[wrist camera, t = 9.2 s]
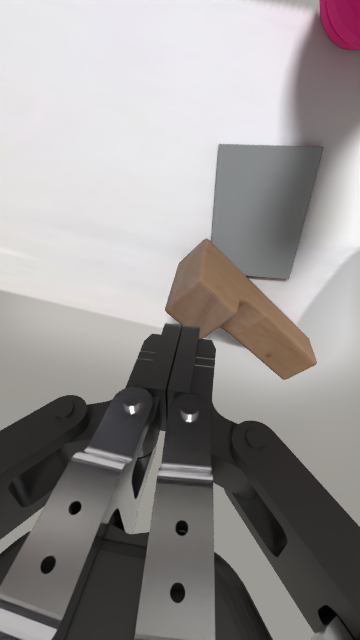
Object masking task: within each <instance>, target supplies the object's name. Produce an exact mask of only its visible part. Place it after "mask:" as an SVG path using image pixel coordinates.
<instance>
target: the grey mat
mask: <svg viewBox="0 0 360 640" xmlns="http://www.w3.org/2000/svg"><path fill="white" fill-rule="evenodd" d="M322 151H323V147H306V146H270V145H233V144H219V149H218V162H217V174H216V187H215V200H214V213H213V226H212V239H211V242H212V243H213V244H214V245H215V246H216V247H217V248H218V249H219V250H220V251H221V252H222V253H223V254H224V255H225V256H226V257H227V258H228V259H229V260H230V261H231V262H232V263H233V264H234V265H235V266H236V267H237V268H238V269H239V270H240V271H241V272H242V273H243V274H244V275H245V276H257V277H269V278H280V279H289V277H290V273H291V269H292V266H293V262H294V258H295V254H296V250H297V247H298V243H299V239H300V235H301V231H302V227H303V224H304V220H305V216H306V212H307V208H308V204H309V201H310V197H311V193H312V189H313V185H314V181H315V178H316V174H317V170H318V166H319V162H320V159H321V155H322Z"/></svg>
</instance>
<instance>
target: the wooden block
mask: <svg viewBox="0 0 360 640" xmlns="http://www.w3.org/2000/svg"><path fill="white" fill-rule="evenodd" d="M165 311H166V312H167V313H168V314H169V315H170V316H172V317H173V318H174V319H175V320H176V321H178V322H179V323H180V324H181V325H188V326H198V327H200V339H202V338H204V337H205V336H207V335H208V334H210V333H211V332H212V331H214V330H215V329H217V328H218V327H221V328H222V329H224V330H226V331H227V332H229V333H230V334H231V335H232V336H233V337H234V338H236V339H237V340H238V341H239V342H240V343H241V344H243V345H244V346H245V347H246V348H247V349H248V350H249V351H251V352H252V353H253V354H254V355H255V356H256V357H258V358H259V359H260V360H261V361H262V362H263V363H265V364H266V365H267V366H268V367H269V368H270V369H271V370H273V371H274V372H275V373H276V374H277V375H278V376H280V377H281V378H282V379H284V380H285V379H288V378H290V377H292V376H294V375H296V374H298V373H300V372H302V371H304V370H306V369H308V368H310V367H312V366H314V365H316V363H317V361H316V358H315V355H314V352H313V350H312V347H311V344H310V341H309V338H308V337H307V336H306V335H305V334H304V333H303V332H301V330H300V329H299V328H298V327H297V326H296V325H295V324H294V323H293V322H292V321H291V320H290V319H289V318H288V317H287V316H286V315H285V314H284V313H283V312H282V311H281V310H280V309H279V308H278V307H277V306H276V305H275V304H274V303H272V302H271V301H270V300H269V299H268V298H267V297H266V296H265V295H264V294H263V293H262V292H261V291H260V290H259V289H258V288H257V287H256V286H255V285H254V284H253V283H252V282H251V281H250V280H249V279H248V278H247V277H246V276H245V275H244V274H243V273H242V272H241V271H240V270H239V269H238V268H237V267H236V266H235V265H234V264H233V263H232V262H231V261H230V260H229V259H228V258H227V257H226V256H225V255H224V254H223V253H222V252H221V251H220V250H219V249H218V248H217V247H216V246H215V245H214V244H213V243H212V242H211V241H210V240H208V239H205V240H203V241H202V242H201V243H200V244H199V245H198V246H197V247H196V248H195V249H194V250H192V251H191V252H190V253H189V254H188V255H187V256H186V257H185V258H184V259H183V260H182V261H181V262H180V263H179V265H178V268H177V271H176V274H175V278H174V281H173V284H172V288H171V291H170V294H169V297H168V301H167V304H166V307H165Z"/></svg>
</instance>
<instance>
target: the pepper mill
mask: <svg viewBox="0 0 360 640" xmlns="http://www.w3.org/2000/svg"><path fill="white" fill-rule="evenodd" d="M320 16H321V21H322V25H323V27H324V29H325V32H326V34H327V35H328V37H329V38H330V39H331V41H332V42H333V43H335V44H336V45H337V46H339V47H341V48H344V49H347V50H360V0H320Z"/></svg>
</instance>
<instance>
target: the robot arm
mask: <svg viewBox="0 0 360 640" xmlns="http://www.w3.org/2000/svg"><path fill="white" fill-rule="evenodd" d="M215 353H216V348H215V346H214V344H213V342H212V340H206V339H200V327H198V326H188V325H177V324H167V323H166V324H165V325H164V328H163V331H162V334H161V335H158V334H151V335H150V336H149V337H148V338H147V339H146V340H145V341H144V343H143V345H142V348H141V351H140V353H139V355H138V359H137V361H136V363H135V365H134V368H133V371H132V373H131V375H130V378H129V380H128V383H127V386H126V388H125V389H122V390H121V391H119V392H118V393H117V394H116V395H115V396H114V398H113V399H112V400H110V401H107V402H102V403H96V404H89V405H86V402H85V401H84V400H83V399H82V398H81V397H78V396H74V395H67V396H63V397H60V398H58V399H56V400H54V401H52V402H50V403H48V404H47V405H45V406H43V407H41V408H40V409H38V410H36V411H34V412H33V413H31V414H30V415H28V416H26V417H24V418H22V419H20V420H19V421H17V422H15V423H13V424H12V425H10V426H8V427H6V428H4V429H3V430H1V431H0V539H1V538H3V537H4V536H6V535H7V534H8V533H9V532H11V531H12V530H13V529H15V528H16V527H17V526H19V525H20V524H21V523H23V522H24V521H25V520H26V519H28V518H29V517H31V516H32V515H33V514H34V513H35V512H37V511H38V510H40V509H41V508H42V507H44V508H43V510H42V512H41V514H40V516H39V517H38V519H37V521H36V523H35V525H34V526H33V528H32V530H31V531H30V532H28V533H26V534H25V535H23V536H22V537H21V538H19V539H18V540H17V541H15V542H14V543H13V544H11V545H10V546H9V547H8V548H7V549H6V550H4V551H3V552H2V553H1V554H0V640H273V639H272V637H271V635H270V633H269V632H268V630H267V628H266V626H265V624H264V622H263V620H262V618H261V616H260V614H259V612H258V610H257V608H256V606H255V604H254V602H253V600H252V599H251V597H250V595H249V593H248V591H247V589H246V587H245V585H244V584H243V582H242V581H241V579H240V578H239V576H238V575H237V573H236V572H235V571H234V570H233V568H232V567H231V566H230V565H229V564H228V563H227V562H226V561H225V560H224V559H223V558H222V557H221V556H219V555H218V554H217V553H215V552H214V507H213V506H214V503H213V482H214V483H216V484H217V485H219V486H221V487H223V488H224V490H225V492H226V494H227V496H228V497H229V499H230V501H231V502H232V504H233V505H234V507H235V509H236V510H237V512H238V513H239V515H240V516H241V518H242V520H243V521H244V523H245V524H246V526H247V528H248V529H249V531H250V532H251V534H252V535H253V537H254V538H255V540H256V542H257V543H258V545H259V546H260V548H261V549H262V551H263V553H264V554H265V556H266V557H267V559H268V561H269V562H270V564H271V565H272V567H273V568H274V570H275V572H276V573H277V575H278V576H279V578H280V580H281V581H282V583H283V584H284V586H285V587H286V589H287V591H288V592H289V593H290V595H291V597H292V598H293V600H294V602H295V603H296V605H297V606H298V608H299V609H300V611H301V613H302V614H303V616H304V617H305V619H306V620H307V622H308V624H309V625H310V627H311V628H312V630H313V631H314V635H313V636H312V639H311V640H360V527H359V526H358V525H357V523H356V522H355V521H354V520H353V519H352V518H351V517H350V516H349V515H348V514H347V512H346V511H345V510H344V509H343V508H342V507H341V506H340V505H339V504H338V502H337V501H336V500H335V499H334V498H333V497H332V496H331V495H330V494H329V493H328V491H327V490H326V489H325V488H324V487H323V486H322V485H321V484H320V483H319V482H318V480H317V479H316V478H315V477H314V476H313V475H312V474H311V473H310V471H308V469H307V468H306V467H305V466H304V465H303V464H302V463H301V462H300V460H299V459H298V458H297V457H296V456H295V455H294V454H293V453H292V452H291V450H290V449H289V448H288V447H287V446H286V445H285V444H284V443H283V442H282V441H281V440H280V438H279V437H278V436H277V435H276V434H275V433H274V432H273V431H272V430H271V429H270V428H269V427H268V426H266V425H265V424H263V423H260V422H257V421H244V422H242V423H240V424H236V423H234V422H232V421H229V420H228V419H226V418H224V417H223V416H221V415H220V414H219V413H218V412H217V411H216V409H215V408H214V406H213V403H212V389H213V377H214V365H215ZM160 430H161V431H166V432H165V439H164V447H163V454H162V462H161V467H160V468H159V471H158V476H157V481H156V489H155V495H154V502H153V510H152V517H151V524H150V531H149V532H148V533H139V534H133V533H134V528H135V525H136V520H137V514H138V506H139V502H140V499H141V496H142V493H143V489H144V486H145V483H146V480H147V477H148V474H149V470H150V467H151V464H152V461H153V458H154V455H155V451H156V444H157V440H158V436H159V432H160ZM78 512H79V513H78Z"/></svg>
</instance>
